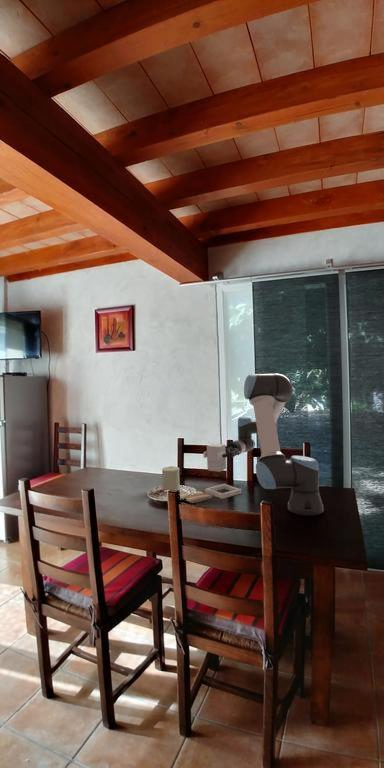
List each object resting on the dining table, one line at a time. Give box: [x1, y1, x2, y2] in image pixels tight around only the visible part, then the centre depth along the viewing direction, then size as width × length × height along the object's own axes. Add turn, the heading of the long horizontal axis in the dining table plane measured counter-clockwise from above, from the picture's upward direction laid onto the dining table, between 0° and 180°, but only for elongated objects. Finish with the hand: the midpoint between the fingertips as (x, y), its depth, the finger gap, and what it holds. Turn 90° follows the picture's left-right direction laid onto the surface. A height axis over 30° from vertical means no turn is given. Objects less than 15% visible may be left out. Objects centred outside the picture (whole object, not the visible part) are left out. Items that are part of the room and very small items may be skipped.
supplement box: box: [206, 443, 227, 473], centre depth 201 cm, size 7×7×13 cm
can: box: [161, 466, 181, 493], centre depth 209 cm, size 9×9×12 cm
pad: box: [179, 489, 213, 504], centre depth 196 cm, size 12×12×1 cm
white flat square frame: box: [204, 483, 242, 500], centre depth 202 cm, size 13×13×2 cm
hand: (210, 456), depth 197 cm, fingers closed on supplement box, 8 cm apart
